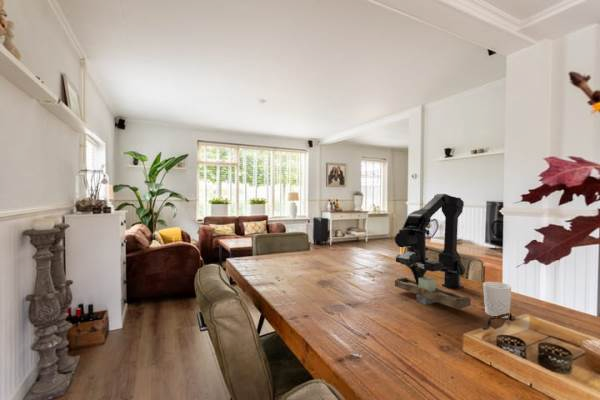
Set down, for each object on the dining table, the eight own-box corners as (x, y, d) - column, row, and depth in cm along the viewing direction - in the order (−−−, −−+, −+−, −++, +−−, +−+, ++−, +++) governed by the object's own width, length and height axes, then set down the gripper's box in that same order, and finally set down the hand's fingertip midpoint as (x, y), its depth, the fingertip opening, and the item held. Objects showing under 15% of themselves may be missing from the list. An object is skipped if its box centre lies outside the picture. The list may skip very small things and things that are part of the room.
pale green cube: (418, 289, 110) (418, 277, 110) (425, 287, 112) (425, 276, 111) (428, 292, 106) (428, 280, 106) (435, 290, 108) (435, 279, 108)
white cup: (516, 320, 91) (516, 289, 91) (489, 318, 92) (489, 288, 92) (504, 310, 98) (503, 282, 98) (479, 308, 100) (479, 281, 100)
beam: (393, 292, 118) (393, 279, 118) (408, 289, 122) (408, 276, 122) (455, 317, 93) (455, 300, 93) (472, 312, 97) (472, 296, 97)
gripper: (385, 243, 117) (386, 280, 117) (423, 250, 100) (423, 294, 100) (405, 241, 122) (405, 276, 122) (443, 247, 105) (444, 289, 105)
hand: (418, 283), depth 112 cm, fingers closed
